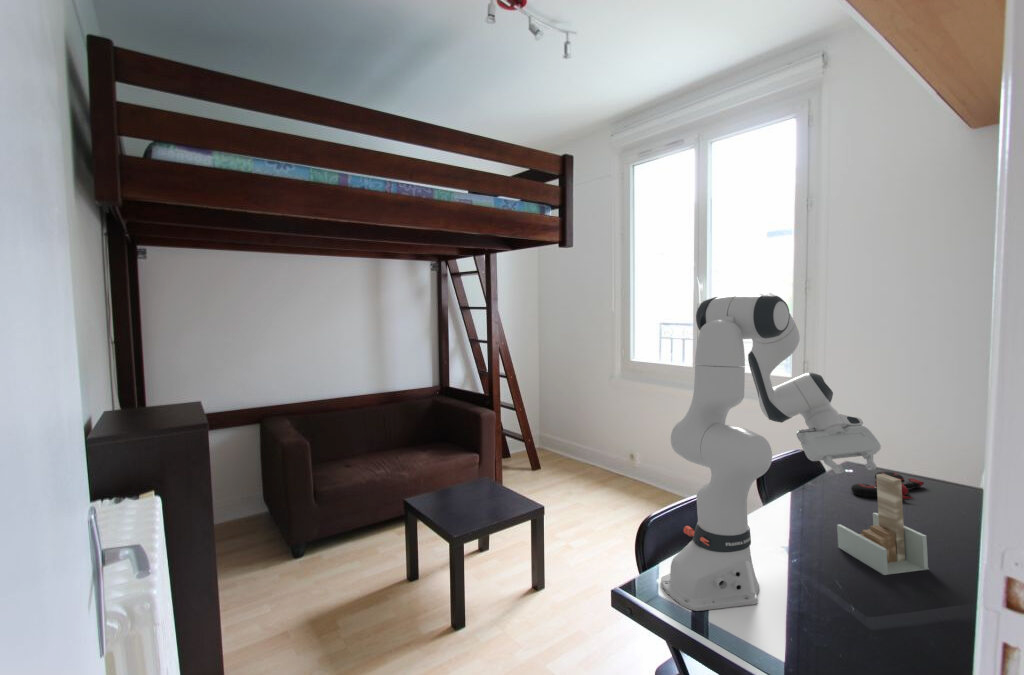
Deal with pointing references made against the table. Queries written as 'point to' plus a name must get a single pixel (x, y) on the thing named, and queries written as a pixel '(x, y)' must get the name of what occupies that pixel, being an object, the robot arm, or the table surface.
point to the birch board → (891, 510)
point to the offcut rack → (885, 550)
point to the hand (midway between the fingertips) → (856, 470)
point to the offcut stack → (882, 540)
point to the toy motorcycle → (871, 490)
